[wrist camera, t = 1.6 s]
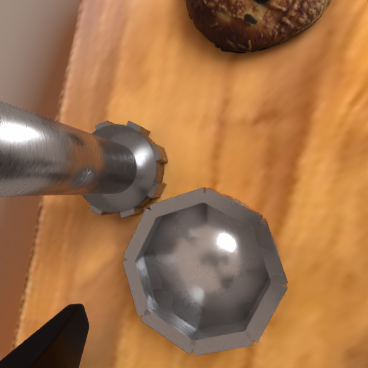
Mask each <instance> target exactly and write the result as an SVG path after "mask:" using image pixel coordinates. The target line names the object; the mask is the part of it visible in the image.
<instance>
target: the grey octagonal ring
mask: <svg viewBox="0 0 368 368" xmlns="http://www.w3.org/2000/svg"><path fill="white" fill-rule="evenodd" d="M149 206H150V208H146V210H145V212H144V214H143V216H142V218H141V220H140V222H139V225H138V227H137V229H136V231H135V233H134V235H133V237H132V239H131V241H130V243H129V245H128V247H127V250H126V252H125V254H124V256H123V258H125V259H126V260H124V261H122V262H123V265H124V269H125V272H126V276H127V279H128V283H129V286H130V290H131V294H132V297H133V301H134V304H135V308H136V311H137V315H138V317H139V316H143V317H142V319H141V321H142V322H144V323H145V324H147V325H148V326H149V327H151V328H152V329H154V330H155V331H157V332H158V333H159V334H161V335H162V336H164V337H165V338H167V339H168V340H170V341H171V342H172V343H174V344H175V345H177V346H178V347H180V348H181V349H183V350H184V351H185V352H187V353H188V354H190V353H191V352H192V350H193V353H194V356H196V355H202V354H208V353H214V352H219V351H225V350H231V349H237V348H242V347H248V346H253V340H254V341H255V342H258V341H259V339H260V337H261V335H262V333H263V332H264V330H265V328H266V326H267V324H268V323H269V321H270V319H271V317H272V315H273V314H274V312H275V310H276V308H277V306H278V305H279V303H280V301H281V299H282V297H283V296H284V294H285V292H286V290H287V285H286V283H288V282H287V279H286V276H285V273H284V270H283V267H282V264H281V261H280V259H279V254H278V251H277V247H276V244H275V242H274V240H273V237H272V235H271V232H270V230H269V227H268V224H267V221H266V219H265V218H264V219H262V217H263V216H262V214H260V213H258V212H256V211H254V210H252V209H250V208H249V207H248V206H246V205H245V204H243V203H242V202H240V201H238V200H237V199H234V198H232V197H230V196H227V195H223V194H221V193H219V192H217V191H215V190H213V189H211V188H207V189H206V188H200V189H197V190H194V191H191V192H188V193H185V194H182V195H179V196H176V197H173V198H170V199H167V200H164V201H161V202H158V203H155V204H152V205H149Z"/></svg>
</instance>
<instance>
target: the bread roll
mask: <svg viewBox="0 0 368 368" xmlns="http://www.w3.org/2000/svg"><path fill="white" fill-rule="evenodd" d="M332 1H333V0H186V4H187V9H188V12H189V16H190V18H191V19H193V22H194V24H195V26H196V27H197V29H198V30H199V31H200V32H201V33H202V34H203V35H204V36H206V37H207V38H208V39H209V40H210V41H211V42H213V43H214V44H215V46H216V47H217V48H219V47H220V48H221V50H222V51H226V52H227V51H229V52H236V53H246V52H245V51H251V52H254V51H259V50H262V49H263V50H264V49H266V48H270V47H272V46H274V45H278V44H280V43H282V42H285V41H286V40H287V39H288V38H289V37H291V36H293V35H295V34H297V33H299V32H301V31H302V30H304V29H307V28H308V27H309V26H310V25H312V23H315V21H316V20H318V18H319V17H320V16H321V14H322V13H323V12H324V11H325V10H326V9H327V8H328V7H329V6H330V4H331V3H332Z"/></svg>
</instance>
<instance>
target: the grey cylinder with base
mask: <svg viewBox="0 0 368 368" xmlns="http://www.w3.org/2000/svg"><path fill="white" fill-rule="evenodd" d="M95 128H96V131H95V132H93V133H92V134H91V133H88V132H85V131H82V130H80V129H77V128H74V127H71V126H68V125H66V124H63V123H60V122H57V121H54V120H52V119H48V118H46V117H43V116H40V115H37V114H35V113H32V112H29V111H26V110H23V109H21V108H17V107H15V106H12V105H9V104H7V103H4V102H1V101H0V197H1V196H44V195H83V196H84V198H85V199H86V200H87V201H88V202H89V203H90V206H89V209H90V210H92V211H93V212H95V213H97V214H98V215H107V214H112V213H119V212H120V215H121V218H124V217H128V216H133V215H136V214H139V213H142V212H144V210H143V206H145V205H146V204H147V203H149V202H150V201H151V200H152V199H153V198H157V197H160V196H161V194H162V192H163V190H164V188H165V186H166V184H165V183H163V182H162V180H163V175H164V164H163V163H166V162H168V160H167V157H166V153H165V150H164V148H163V147H161V146H159V145H157V144H155V143H154V142H153V141H152V140H151V139H150V138H149V137H148V135H149V133H150V131H148V130H146V129H144V128H143V127H141V126H139V125H137V124H135V123H133V122H131V121H128V123H127V125H126V126H125V125H118V124H114V123H112V122H110V121H108V120H107V121H105V122H103V123H100V124H98V125H96V126H95Z"/></svg>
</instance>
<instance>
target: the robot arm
mask: <svg viewBox="0 0 368 368" xmlns="http://www.w3.org/2000/svg"><path fill="white" fill-rule="evenodd" d="M88 331H89V322H88V318H87V315H86V312H85V309H84V306H83V305H82V304H70V305H68V306H66V307H65V308H64V309H63V310H62V311H60V312H59V313H58V314H57V315H56V316H54V317H53V318H52V319H51V320H49V321H48V322H47V323H46V324H45V325H43V326H42V327H41V328H40V329H38V330H37V331H36V332H35V333H34V334H32V335H31V336H30V337H29V338H28V339H26V340H25V341H24V342H23V343H21V344H20V345H19V346H18V347H17V348H15V349H14V350H13V351H12V352H11V353H9V354H8V355H7V356H6V357H5V358H3V359H2V360H1V361H0V368H79V365H80V361H81V357H82V353H83V350H84V346H85V342H86V338H87V335H88Z"/></svg>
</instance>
